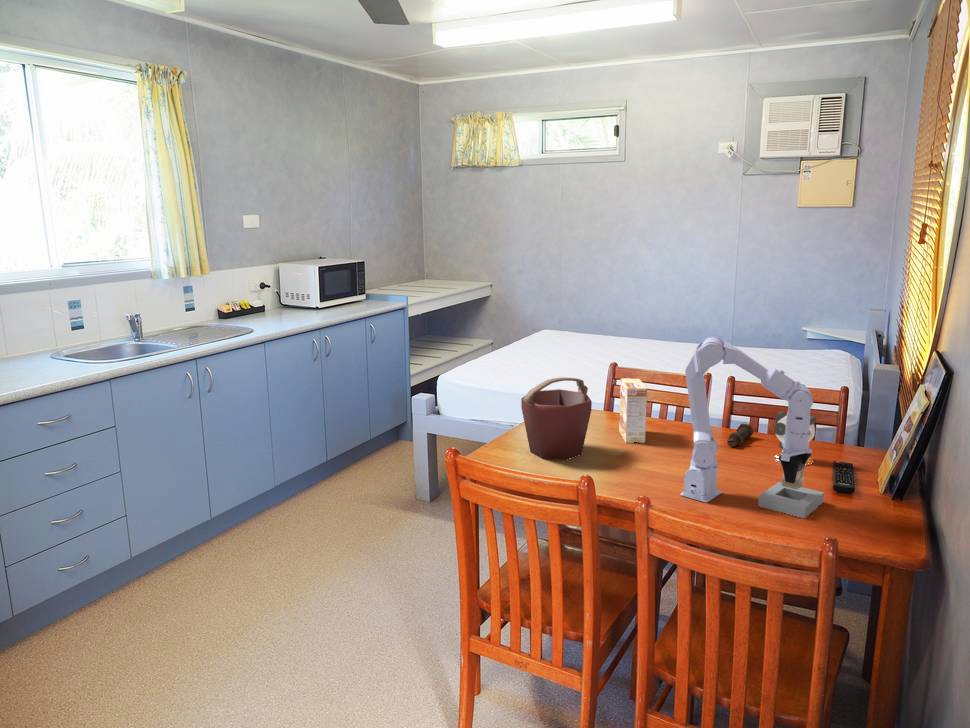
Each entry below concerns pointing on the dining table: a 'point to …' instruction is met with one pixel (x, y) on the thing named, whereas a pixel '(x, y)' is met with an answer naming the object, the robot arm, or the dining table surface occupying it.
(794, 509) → the socket board
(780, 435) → the panda figurine
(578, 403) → the bucket
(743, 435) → the dark brown cylinder
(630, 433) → the coffeecake box
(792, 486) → the peg
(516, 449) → the dining table surface
